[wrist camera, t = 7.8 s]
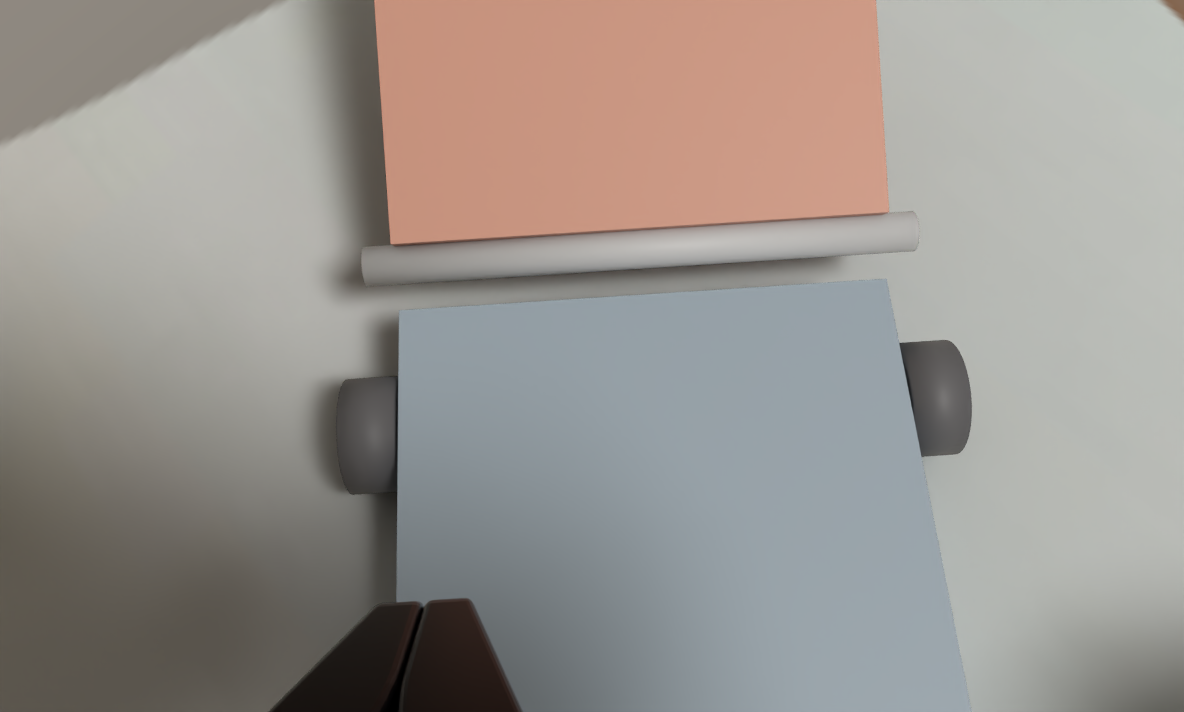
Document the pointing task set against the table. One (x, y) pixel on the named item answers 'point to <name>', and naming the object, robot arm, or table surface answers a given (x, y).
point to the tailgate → (628, 136)
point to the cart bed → (677, 495)
